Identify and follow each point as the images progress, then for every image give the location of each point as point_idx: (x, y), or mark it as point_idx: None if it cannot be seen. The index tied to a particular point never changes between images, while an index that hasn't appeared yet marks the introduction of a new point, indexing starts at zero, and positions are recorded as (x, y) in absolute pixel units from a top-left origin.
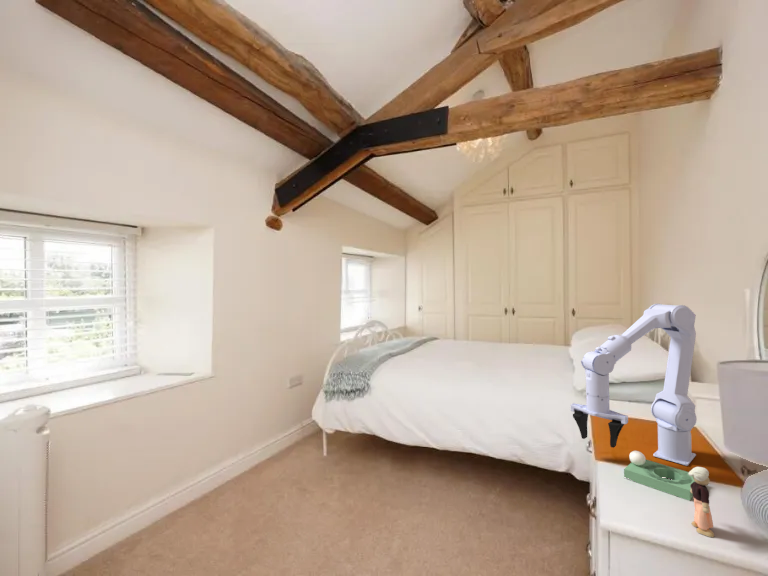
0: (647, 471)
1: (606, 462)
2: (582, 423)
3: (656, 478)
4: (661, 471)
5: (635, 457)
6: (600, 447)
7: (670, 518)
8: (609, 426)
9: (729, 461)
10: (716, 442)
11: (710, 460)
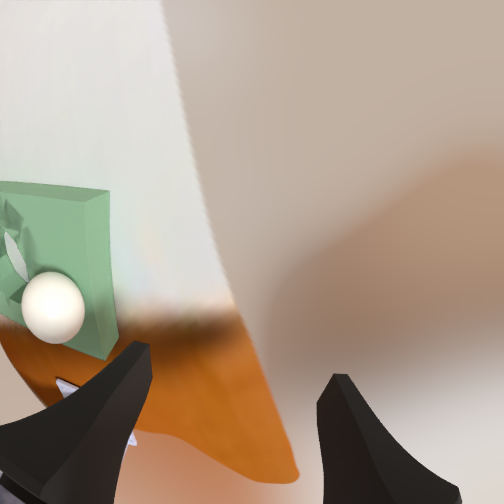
0: (31, 246)
1: (214, 308)
2: (366, 475)
3: (3, 202)
4: None
5: (36, 286)
6: (268, 406)
7: (7, 41)
8: (49, 467)
9: None
10: None
11: None
